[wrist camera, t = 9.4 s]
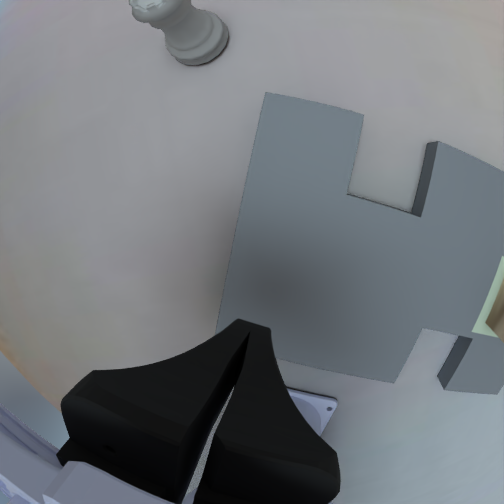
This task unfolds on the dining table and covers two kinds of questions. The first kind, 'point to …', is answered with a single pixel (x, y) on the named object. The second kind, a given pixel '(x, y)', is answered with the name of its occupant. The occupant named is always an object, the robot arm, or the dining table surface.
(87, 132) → the dining table surface
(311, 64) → the dining table surface
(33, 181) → the dining table surface
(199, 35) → the rook chess piece
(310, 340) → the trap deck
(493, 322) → the oak block
